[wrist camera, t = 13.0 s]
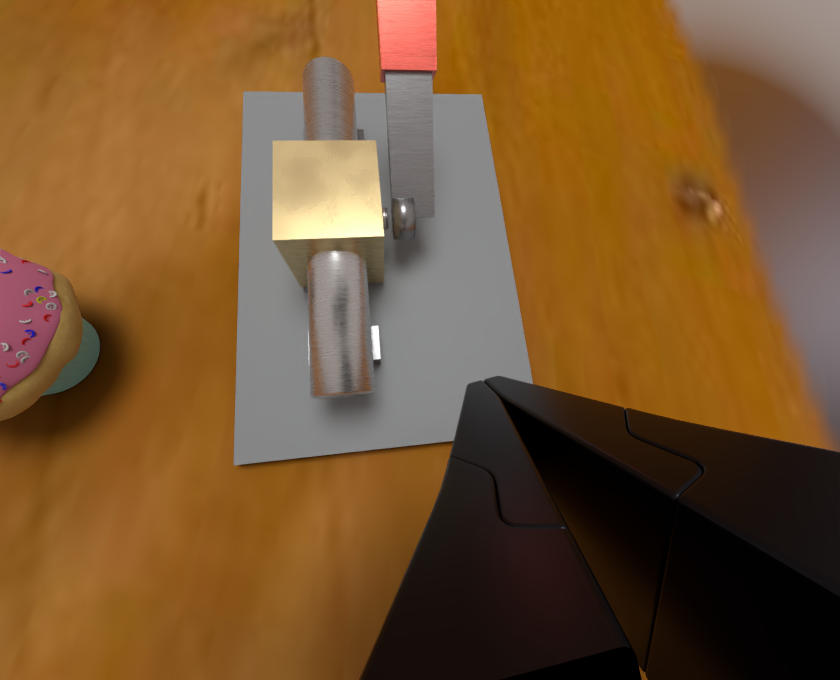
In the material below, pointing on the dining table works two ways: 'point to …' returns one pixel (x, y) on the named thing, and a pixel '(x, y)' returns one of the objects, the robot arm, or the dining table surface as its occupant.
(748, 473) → the robot arm
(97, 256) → the dining table surface
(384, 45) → the valve lever
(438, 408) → the mounting board
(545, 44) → the dining table surface
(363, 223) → the ball valve
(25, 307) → the cupcake
